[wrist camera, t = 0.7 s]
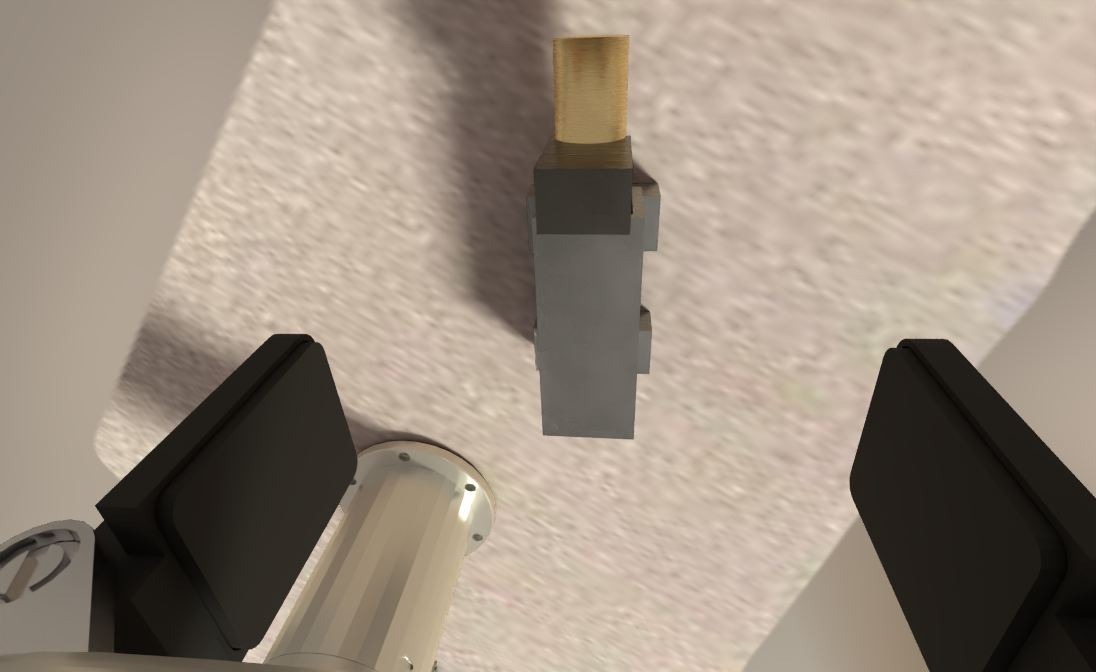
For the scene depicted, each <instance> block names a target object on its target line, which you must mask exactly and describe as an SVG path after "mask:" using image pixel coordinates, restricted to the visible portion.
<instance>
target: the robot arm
mask: <svg viewBox="0 0 1096 672" xmlns="http://www.w3.org/2000/svg"><path fill="white" fill-rule="evenodd" d="M850 491H851V495H852V498H853V500H854V503H855V505H856V507H857V509H858V512H859V514H860V516H861V518H862V521H863V523H864V525H865V527H866V530H867V532H868V534H869V536H870V539H871V541H872V543H873V545H874V548H875V550H876V552H877V554H878V556H879V559H880V561H881V563H882V566H883V568H884V570H885V572H886V574H887V577H888V579H889V581H890V584H891V586H892V588H893V590H894V592H895V595H896V597H897V599H898V602H899V604H900V606H901V608H902V611H903V613H904V615H905V617H906V620H907V622H908V624H909V626H910V629H911V631H912V633H913V635H914V638H915V640H916V642H917V644H918V646H919V649H920V651H921V653H922V656H923V658H924V660H925V662H926V665H927V667H928V669H929V671H930V672H1096V498H1095V497H1094V496H1093V495H1092V494H1091V493H1090V492H1089V491H1088V490H1087V488H1086V487H1085V486H1084V485H1083V484H1082V483H1081V482H1080V481H1079V480H1078V479H1077V478H1076V477H1075V475H1074V474H1073V473H1072V472H1071V471H1070V470H1069V469H1068V468H1067V467H1066V466H1065V465H1064V464H1063V463H1062V461H1060V459H1059V458H1058V457H1057V456H1056V455H1055V454H1054V453H1053V452H1052V451H1051V449H1050V448H1049V447H1048V446H1047V445H1046V444H1045V443H1044V442H1043V441H1042V440H1041V439H1040V438H1039V437H1038V436H1037V434H1036V433H1035V432H1034V431H1033V430H1032V429H1031V428H1030V427H1029V426H1028V425H1027V424H1026V423H1025V422H1024V420H1023V419H1022V418H1021V417H1020V416H1019V415H1018V414H1017V413H1016V412H1015V411H1014V410H1013V408H1012V407H1011V406H1010V405H1009V404H1008V403H1007V402H1006V401H1005V400H1004V399H1003V398H1002V397H1001V395H1000V394H998V392H997V391H996V390H995V389H994V388H993V387H992V386H991V385H990V384H989V383H988V382H987V380H986V379H985V378H984V377H983V376H982V375H981V374H980V373H979V372H978V371H977V370H976V368H975V367H974V366H973V365H972V364H971V363H970V362H969V361H968V360H967V359H966V358H965V357H964V356H963V354H962V353H961V352H960V351H959V350H958V349H957V348H956V347H955V346H954V345H953V344H952V343H951V342H950V341H948V340H946V339H904V340H902V341H901V342H900V343H899V344H898V345H897V348H890V349H888V350H887V351H886V352H885V355H884V357H883V361H882V364H881V368H880V371H879V375H878V379H877V382H876V386H875V389H874V393H873V396H872V400H871V403H870V407H869V410H868V414H867V417H866V421H865V424H864V428H863V431H862V435H861V438H860V442H859V445H858V449H857V452H856V456H855V459H854V463H853V466H852V470H851V474H850ZM339 503H341V506H342V510H343V511H344V513H345V514H344V515H343V517H342V519H341V521H340V523H339V525H338V526H337V528H336V530H335V532H334V534H333V536H332V537H331V539H330V541H329V543H328V545H327V546H326V548H325V550H324V552H323V554H322V556H321V557H320V559H319V561H318V563H317V565H316V567H315V568H314V570H313V572H312V574H311V576H310V578H309V579H308V581H307V583H306V585H305V587H304V588H303V590H302V592H301V594H300V596H299V598H298V599H297V601H296V603H295V605H294V607H293V609H292V610H291V612H290V614H289V616H288V618H287V620H286V621H285V623H284V625H283V627H282V629H281V630H280V632H279V634H278V636H277V638H276V640H275V641H274V643H273V645H272V647H271V649H270V651H269V652H268V654H267V656H266V658H265V660H264V662H263V664H258V663H246V662H242V660H243V659H244V657H245V655H246V653H247V652H248V650H249V649H253V648H255V647H256V646H257V645H258V644H259V643H260V642H261V640H262V639H263V637H264V636H265V634H266V632H267V630H268V629H269V627H270V625H271V623H272V622H273V620H274V618H275V616H276V614H277V613H278V611H279V609H280V607H281V606H282V604H283V602H284V600H285V599H286V597H287V595H288V593H289V591H290V590H291V588H292V586H293V584H294V583H295V581H296V579H297V577H298V575H299V574H300V572H301V570H302V568H303V567H304V565H305V563H306V561H307V560H308V558H309V556H310V554H311V552H312V551H313V549H314V547H315V545H316V544H317V542H318V540H319V538H320V537H321V535H322V533H323V531H324V529H325V528H326V526H327V524H328V522H329V521H330V519H331V517H332V515H333V514H334V512H335V510H336V508H337V506H338V505H339ZM95 506H96V508H97V510H98V511H99V513H100V514H101V515H102V517H103V519H104V521H103V522H102V523H101V524H100V525H99V526H98V527H97V528H96V529H95V530H94V529H93V528H92V527H91V526H90V525H88V524H87V523H85V522H84V521H77V520H63V521H55V522H50V523H47V524H44V525H41V526H37V527H34V528H32V529H30V530H27V531H25V532H23V533H21V534H19V535H16V536H14V537H12V538H11V539H9V540H7V541H6V542H4V543H2V544H1V545H0V672H431V671H432V667H433V664H434V660H435V657H436V653H437V650H438V646H439V643H440V639H441V636H442V632H443V629H444V625H445V622H446V618H447V615H448V611H449V608H450V604H451V601H452V597H453V594H454V590H455V587H456V583H457V580H458V576H459V573H460V569H461V566H462V562H463V559H464V556H467V555H469V554H471V553H472V552H474V551H476V550H477V549H478V548H480V547H481V546H482V545H483V544H484V543H485V542H486V540H487V539H488V537H489V535H490V534H491V530H492V527H493V524H494V519H495V513H496V509H495V500H494V497H493V495H492V492H491V489H490V488H489V486H488V485H487V483H486V481H485V480H484V478H483V477H482V476H481V475H480V474H479V473H478V472H477V471H476V470H475V469H474V468H473V467H472V466H471V465H469V464H468V463H467V462H465V461H464V460H463V459H461V458H459V457H458V456H456V455H454V454H452V453H451V452H449V451H446V450H444V449H441V448H438V447H436V446H433V445H429V444H424V443H420V442H412V441H391V442H385V443H381V444H377V445H373V446H371V447H369V448H367V449H365V450H363V451H362V452H360V453H359V454H358V455H357V454H356V451H355V447H354V444H353V441H352V438H351V435H350V431H349V428H348V425H347V422H346V419H345V415H344V412H343V409H342V406H341V402H340V399H339V396H338V393H337V390H336V386H335V383H334V380H333V377H332V374H331V370H330V367H329V364H328V361H327V357H326V354H325V351H324V349H323V346H322V345H321V344H320V343H318V342H315V341H314V339H313V338H312V337H311V336H310V335H307V334H274V335H272V336H271V337H270V338H269V339H267V340H266V341H265V342H264V343H263V344H262V345H261V346H260V347H259V348H258V349H257V350H256V351H255V352H254V353H253V354H252V355H251V356H250V357H249V358H248V359H247V360H246V361H245V362H244V363H243V364H242V365H240V366H239V367H238V368H237V369H236V370H235V371H234V372H233V373H232V374H231V375H230V376H229V377H228V378H227V379H226V380H225V381H224V382H223V383H222V384H221V385H220V386H219V387H218V388H217V389H216V390H215V391H213V392H212V393H211V394H210V395H209V396H208V397H207V398H206V399H205V400H204V401H203V402H202V403H201V404H200V405H199V406H198V407H197V408H196V409H195V410H194V411H193V412H192V413H191V414H190V415H189V416H188V417H186V418H185V419H184V420H183V421H182V422H181V423H180V424H179V425H178V426H177V427H176V428H175V429H174V430H173V431H172V432H171V433H170V434H169V435H168V436H167V437H166V438H165V439H164V440H163V441H162V442H161V443H160V444H158V445H157V446H156V447H155V448H154V449H153V450H152V451H151V452H150V453H149V454H148V455H147V456H146V457H145V458H144V459H143V460H142V461H141V462H140V463H139V464H138V465H137V466H136V467H135V468H134V469H133V470H131V471H130V472H129V473H128V474H127V475H126V476H125V477H124V478H123V479H122V480H121V481H120V482H119V483H118V484H117V485H116V486H115V487H114V488H113V489H112V490H111V491H110V492H109V493H108V494H107V495H106V496H105V497H103V499H101V500H100V501H99V502H98V503H97V504H96V505H95Z"/></svg>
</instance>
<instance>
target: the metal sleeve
mask: <svg viewBox="0 0 1096 672" xmlns="http://www.w3.org/2000/svg"><path fill="white" fill-rule="evenodd" d="M660 198H661V196H660V191H659V186H658V183H632V201H631V227H630V235H572V234H537V229H536V207H535V186H534V184H532V186H531V188H530V190H529V192H528V194H527V196H526V199H527V217H528V236H529V250H533V251H534V271H535V291H536V310H537V318H536V322H535V325H534V345H535V363H536V370H540V388H541V408H542V428H543V435H547V436H569V437H591V438H613V439H634V420H635V401H636V381H637V374H649V369H650V353H651V338H652V327H651V316H650V312H646V311H640V303H641V284H642V264H643V251H657V244H658V229H659V213H660Z"/></svg>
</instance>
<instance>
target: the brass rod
mask: <svg viewBox="0 0 1096 672" xmlns="http://www.w3.org/2000/svg"><path fill="white" fill-rule="evenodd" d="M628 57H629V35H584V36H567V37H556V38H553V74H554V110H555V137H551V138H550V140H549V142H548V144H547V145H546V147H545V149H544V151H543V153H542V155H541V157H540V158H539V160H538V162H537V164H536V166H535V168H534V186H535V207H536V229H537V234H572V235H630V227H631V201H632V175H633V165H632V150H631V136H626V120H627V89H628Z"/></svg>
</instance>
